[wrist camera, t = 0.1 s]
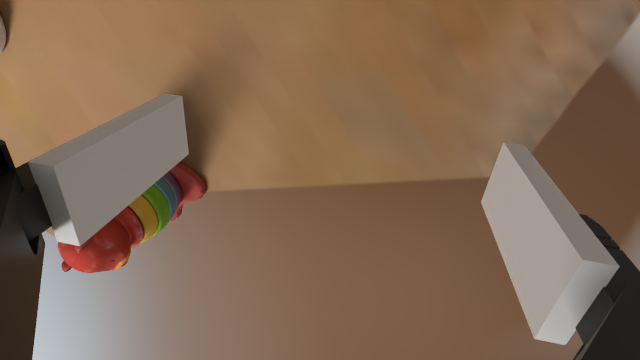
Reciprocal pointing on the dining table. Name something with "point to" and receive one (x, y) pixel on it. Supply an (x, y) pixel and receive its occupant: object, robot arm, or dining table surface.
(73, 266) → the stacking bear
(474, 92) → the dining table surface
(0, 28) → the ramekin
